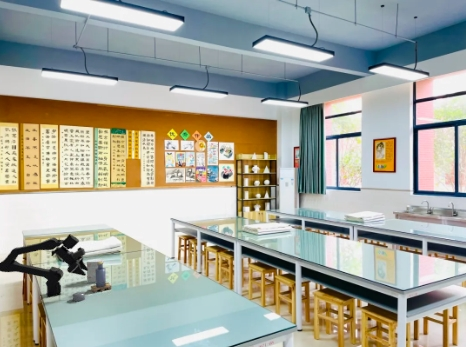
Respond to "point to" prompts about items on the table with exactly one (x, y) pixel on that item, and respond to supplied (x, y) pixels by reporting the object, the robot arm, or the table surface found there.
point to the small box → (92, 270)
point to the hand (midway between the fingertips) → (86, 272)
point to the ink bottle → (100, 275)
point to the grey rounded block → (78, 296)
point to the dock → (100, 287)
